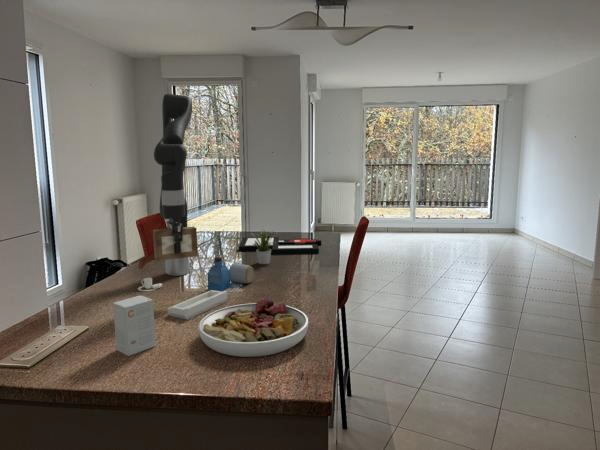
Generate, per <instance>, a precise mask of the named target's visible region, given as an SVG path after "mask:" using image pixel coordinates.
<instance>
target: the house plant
mask: <svg viewBox="0 0 600 450" xmlns="http://www.w3.org/2000/svg"><path fill="white" fill-rule="evenodd" d="M260 231H261V232H260V237H261V243H260V242H259V240H258V238H257V237H258V236H256V235H255V234H253V233H252V232H250V234H251V235H252V236H253V237H255V238H256V239H257V241H258V242H259V244H260V245H259V244H258V243H257V242H256V241H255V240H254V241H255V244H253V245H255V246H257V247H258V246H259V247H258V249H257V250H256V251H255V252H256V256H257V262H258V264H259V265H269V264H270V263H271V255H272V254H271V253H272V251H271V249H267V247H268V245H269V246H270V245H272V244H270V243H274V242H270V243H269V242H268V241H269V240H271V239H272V238H273V237H275V234H277V233H279V232H278V231H277V232H274V230H273V231H271V232H269V233H268V235H266V234H267V233H266V231H265V229H263V231H262V229H260ZM266 237H267V238H266ZM269 237H272V238H271V239H270V238H269ZM275 242H277V241H275ZM268 243H269V244H268ZM256 244H257V245H256Z"/></svg>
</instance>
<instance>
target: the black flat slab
mask: <svg viewBox="0 0 600 450" xmlns="http://www.w3.org/2000/svg"><path fill="white" fill-rule="evenodd" d="M256 237H257V238H258V240H259V242H260V243H261V236H260V237H259V236H256ZM272 237H273V236H271V237H269V238H270V239H271V238H272ZM266 238H267V237H266ZM254 240H255V241H256V242H257V243H258V244H259V242H258V241H257V239H256V238H255V237H254V236H253V237H251V236H250V237H249V236H247V237H244V236H243V238H242V240H241V241H240V243H239V245H238V252H256V250H257V249H258V247H259V246H258V247H257V246H255V245H253V244H255V241H254ZM275 241H277V242H275ZM268 242H269V243H270V242H274V243H270V244H272V245H270V246H269V245H268V247H267V249H271V253H272V254H271V255H315V254H317V255H318V254H319V253H320V248H319V246H320V247H321V246H322V240H321V239H316V238H313V239H311V238H310V237H309V238H305V237H304V238H302V237H301V238H294V239H280V237H279V236H274V237H273V238H272V239H271V240H269V241H268ZM269 243H268V244H269ZM256 245H257V244H256ZM259 245H260V244H259Z"/></svg>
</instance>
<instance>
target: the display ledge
mask: <svg viewBox="0 0 600 450" xmlns="http://www.w3.org/2000/svg"><path fill="white" fill-rule="evenodd" d="M228 297H229V296H228V290H224V291H214V290H208V291H206V292H203V293H201V294H198V295H195V296H194V297H191V298H188V299H186V300H184V301H181V302H180V303H177V304H174V305H173V306H170V307H167V308H168V309H167V311H168V312H167V315H168V316H169V317H172V318H178V319H183V320H191V319H193V318H195V317H197V316H199V315H201V314H203V313H205V312H207V311H209V310H212V309H214V308H216V307H218V306H220V305H222V304H224V303H226V302H228V299H229V298H228Z"/></svg>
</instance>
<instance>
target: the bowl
mask: <svg viewBox="0 0 600 450" xmlns="http://www.w3.org/2000/svg"><path fill="white" fill-rule="evenodd" d="M308 328H309V318H308V316H307V315H306V314H305V313H304V311H302V310H300V309H298V308H295V307H292V306H290V305H286V304H285V303H284V302H282V301H279V302H278V301H277V302H276V303H274V300H273V299H272V298H271V297H269V296H264V297H261V298H260V299H259V300H258V301H257V302H251V303H241V304H236V305H230V306H226V307H222V308H220V309H217V310H214V311H212V312H209V314H207V315H205V316H204V317H203V318H202V319H201V320H200V321H199V323H198V332H199V333H198V334H199V336H200V338H201V340H202V342H203V343H204V344H205V345H206V346H207V347H208V348H210V349H211V350H212V351H215V352H217V353H220V354H222V355H223V354H224V355H228V356H233V357H241V358H242V357H245V358H246V357H247V358H253V357H263V356H270V355H274V354H279V353H281V352H284V351H287V350H290V349H291V348H293V347H295V346H296V345H298V344H299V343H301V341H302V340H303V339H304V338H305V336H306V334H307V332H308Z"/></svg>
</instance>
